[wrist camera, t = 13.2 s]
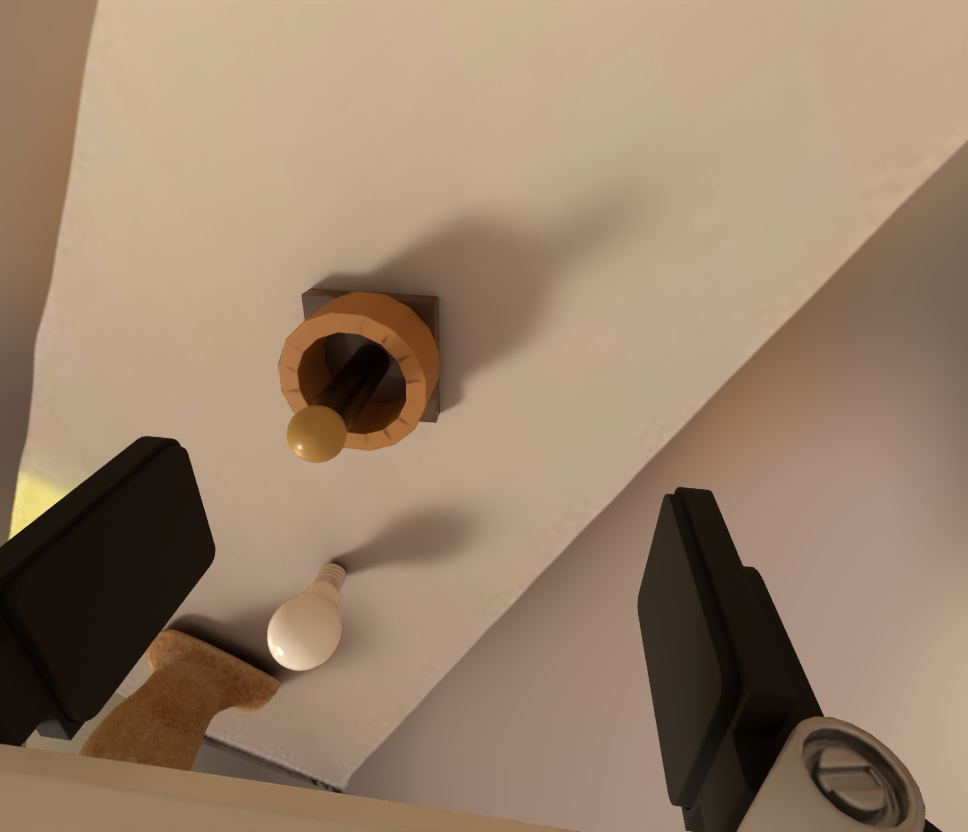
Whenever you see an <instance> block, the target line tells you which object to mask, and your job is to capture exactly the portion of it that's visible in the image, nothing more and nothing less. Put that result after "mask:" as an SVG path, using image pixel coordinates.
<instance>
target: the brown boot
mask: <svg viewBox="0 0 968 832" xmlns="http://www.w3.org/2000/svg"><path fill="white" fill-rule="evenodd" d="M147 660H148V663H149V665H150V667H151V668H152V670H153V674H152V675H151V676H150V678H149V679H148V680H147V681H146V682H145V683H144V684H143V686H142V687H140V688H139V689H138V690H137V691H136V692H135V693H133V694H132V695H131V696H129V697H128V698H127V699H126V700H124V701H123V702H122V703H120V704H119V705H118V706H117V707H116V708H115V709H113V710H112V711H111V712H110V713H109V714H108V715H107V716H106V717H105V718H104V719H103V720H102V722H101V723H100V724H99V725H98V726H97V728H96V729H95V730H94V731H93V733H92V734H91V735H90V736H89V737H88V739H87V740H86V741H85V742H84V744H83V745H82V747H81V748H80V749H79V751H78V753H77V755H81V756H88V757H95V758H102V759H109V760H116V761H123V762H130V763H137V764H144V765H151V766H158V767H165V768H172V769H178V770H185V771H190V769H191V767H192V765H193V762H194V760H195V757H196V755H197V752H198V750H199V747H200V745H201V742H202V739H203V737H204V734H205V732H206V729H207V727H208V725H209V723H210V721H211V719H212V718H213V717H214V715H216V714H217V713H218V712H220V711H223V710H230V711H233V712H235V713H238V714H245V713H252V712H256V711H257V710H259V709H261V708H262V707H263V706H264V705H265V704H266V703H268V702H269V701H270V699H271V698H272V697H273V696H274V695H275V694H276V692H277V690H278V688H279V686H280V684H281V682H280V681H279V680H277V679H276V678H274V677H272V676H270V675H269V674H267V673H265V672H263V671H261V670H259V669H257V668H256V667H254V666H252V665H251V664H249V663H247V662H245V661H243V660H241V659H239V658H237V657H235V656H233V655H231V654H229V653H227V652H225V651H223V650H221V649H218V648H216V647H214V646H212V645H210V644H208V643H206V642H204V641H202V640H199V639H197V638H195V637H192V636H190V635H187V634H185V633H183V632H180V631H177V630H172V629H165V630H162V631H161V632H160V633H159V634H158V635H157V637H156V638H155V639H154V641H153V642H152V643H151V645H150V646H149V647H148V649H147Z"/></svg>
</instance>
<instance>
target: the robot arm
mask: <svg viewBox="0 0 968 832" xmlns="http://www.w3.org/2000/svg"><path fill="white" fill-rule="evenodd" d="M214 556H215V544H214V541H213V537H212V534H211V531H210V527H209V524H208V520H207V517H206V513H205V510H204V507H203V503H202V500H201V496H200V493H199V489H198V486H197V483H196V479H195V476H194V472H193V469H192V465H191V462H190V459H189V455H188V452H187V450H186V449H185V448H183V447H181V445H180V443H179V442H178V441H177V440H175V439H172V438H161V437H151V436H144V437H141V438H139V439H137V440H136V441H135V442H134V443H132V444H131V445H130V446H128V447H127V448H126V449H125V450H123V451H122V452H121V453H120V454H118V455H117V456H116V457H114V458H113V459H112V460H111V461H109V462H108V463H107V464H106V465H104V466H103V467H102V468H100V469H99V470H98V471H97V472H95V473H94V474H93V475H92V476H90V477H89V478H88V479H86V480H85V481H84V482H83V483H81V484H80V485H79V486H78V487H76V488H75V489H74V490H72V491H71V492H70V493H69V494H67V495H66V496H65V497H64V498H62V499H61V500H60V501H58V502H57V503H56V504H55V505H53V506H52V507H51V508H50V509H48V510H47V511H46V512H45V513H43V514H42V515H41V516H39V517H38V518H37V519H36V520H34V521H33V522H32V523H31V524H29V525H28V526H27V527H25V528H24V529H23V530H22V531H20V532H19V533H18V534H17V535H15V536H14V537H13V538H11V539H10V540H9V541H8V542H6V543H5V544H4V545H3V546H1V547H0V832H578V831H572V830H566V829H560V828H555V827H549V826H543V825H538V824H532V823H526V822H520V821H515V820H508V819H501V818H495V817H488V816H482V815H476V814H469V813H462V812H456V811H450V810H443V809H436V808H430V807H423V806H418V805H410V804H405V803H398V802H392V801H385V800H378V799H372V798H366V797H359V796H353V795H346V794H340V793H333V792H325V791H319V790H312V789H306V788H299V787H292V786H286V785H279V784H273V783H266V782H259V781H253V780H245V779H239V778H232V777H225V776H219V775H212V774H205V773H198V772H192V771H185V770H178V769H172V768H165V767H158V766H151V765H144V764H137V763H130V762H123V761H116V760H109V759H102V758H95V757H88V756H81V755H74V754H67V753H60V752H53V751H46V750H39V749H32V748H26V740H27V739H28V737H29V736H30V735H31V734H32V733H33V731H34V730H35V729H36V730H37V731H38V733H39V734H40V736H44V737H51V738H57V739H65V740H72V738H73V737H74V735H75V734H76V733H77V732H78V730H79V729H80V728H81V726H82V725H83V724H84V722H85V721H88V720H91V719H92V718H93V717H95V716H96V715H97V714H98V713H99V712H100V710H101V709H102V708H103V707H104V705H105V704H106V703H107V701H108V700H109V699H110V697H111V696H112V695H113V693H114V692H115V691H116V690H117V688H118V687H119V686H120V684H121V683H122V682H123V680H124V679H125V678H126V676H127V675H128V674H129V672H130V671H131V670H132V668H133V667H134V666H135V664H136V663H137V662H138V660H139V659H140V658H141V657H142V655H143V654H144V653H145V651H146V650H147V649H148V647H149V646H150V645H151V643H152V642H153V641H154V639H155V638H156V637H157V635H158V634H159V633H160V631H161V630H162V629H163V627H164V626H165V625H166V623H167V622H168V621H169V620H170V618H171V617H172V616H173V614H174V613H175V612H176V610H177V609H178V608H179V606H180V605H181V604H182V602H183V601H184V600H185V598H186V597H187V596H188V594H189V593H190V592H191V590H192V589H193V588H194V587H195V585H196V584H197V583H198V581H199V580H200V579H201V577H202V576H203V575H204V573H205V572H206V571H207V569H208V568H209V567H210V565H211V564H212V562H213V559H214ZM638 616H639V622H640V628H641V634H642V640H643V646H644V652H645V658H646V664H647V670H648V676H649V682H650V688H651V694H652V699H653V706H654V712H655V718H656V723H657V730H658V736H659V742H660V748H661V754H662V759H663V766H664V772H665V778H666V784H667V790H668V795H669V799H670V802H671V803H672V805H674V806H681V807H682V812H683V817H684V822H685V828H686V831H691V832H942V831H940V830H939V829H938V828H936V827H935V826H934V825H933V824H931V823H930V822H929V821H928V820H926V819H925V805H924V802H923V799H922V795H921V792H920V790H919V787H918V785H917V784H916V782H915V781H914V779H913V777H912V775H911V774H910V772H909V771H908V769H907V768H906V766H905V765H904V764H903V763H902V762H901V761H900V760H899V759H898V757H897V756H896V755H895V754H894V753H893V752H892V751H891V750H890V749H889V748H888V747H887V746H885V745H884V744H883V743H882V742H880V741H879V740H878V739H876V738H875V737H874V736H873V735H871V734H870V733H868V732H866V731H864V730H862V729H861V728H859V727H857V726H855V725H853V724H851V723H848V722H845V721H842V720H839V719H836V718H833V717H824V715H823V713H822V711H821V708H820V706H819V704H818V702H817V700H816V697H815V695H814V693H813V691H812V689H811V686H810V684H809V682H808V679H807V677H806V675H805V673H804V670H803V668H802V666H801V664H800V662H799V659H798V657H797V655H796V652H795V650H794V648H793V646H792V644H791V641H790V639H789V637H788V635H787V632H786V630H785V628H784V626H783V623H782V621H781V619H780V617H779V614H778V612H777V610H776V608H775V605H774V603H773V601H772V599H771V596H770V594H769V592H768V590H767V587H766V585H765V583H764V581H763V579H762V577H761V575H760V574H759V572H758V571H757V570H756V569H755V568H754V567H746V566H743V565H742V563H741V560H740V558H739V555H738V553H737V551H736V548H735V546H734V543H733V541H732V539H731V536H730V534H729V532H728V529H727V526H726V524H725V522H724V519H723V517H722V514H721V512H720V510H719V507H718V505H717V503H716V500H715V498H714V495H713V494H712V492H711V491H710V490H704V489H694V488H684V487H678V488H677V489H676V490H675V493H674V494H666V495H665V496H664V499H663V502H662V506H661V509H660V513H659V517H658V521H657V525H656V529H655V533H654V537H653V540H652V544H651V549H650V552H649V556H648V560H647V564H646V568H645V572H644V575H643V579H642V583H641V587H640V591H639V595H638Z"/></svg>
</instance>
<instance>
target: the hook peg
mask: <svg viewBox="0 0 968 832" xmlns="http://www.w3.org/2000/svg"><path fill="white" fill-rule="evenodd" d="M388 369H389V359H388V356H387V355H386V353H385V352H384V351H383V350H382V349H380V348H379V347H377V346H373V345H365V346H362V347H360V348H359V349H358V350H357V351H356V352H355V354H354V355H353V356H352V357H351V358H350V359H349V360H348V362H347V363H346V364H345V365H344V366H343V367H342V369H341V370H340V371H339V372H338V373H337V374H336V376H335V377H334V378H333V379H332V380H331V381H330V383H329V384H328V385H327V386H326V387H325V388H324V389H323V391H322V392H321V393H320V394H319V395H318V396H317V398H316V399H315V400H314V401H313V402H312V403H311V405H310V406H309V407H306V408H303V409H302V410H300V411H298V412H297V413H296V414H295V415H294V416H293V417H292V419H291V420H290V422H289V425H288V428H287V441H288V444H289V446H290V448H291V450H292V451H293V452H294V454H296V455H297V456H298V457H299V458H301V459H303V460H305V461H308V462H313V463H321V462H325V461H328V460H330V459H332V458H334V457H335V456H337V455H338V454H339V453H340V451H341V450H342V449H343V447H344V445H345V442H346V438H347V432H348V430H349V429H350V427H351V426H352V424H353V423H354V421H355V420H356V418H357V417H358V415H359V414H360V412H361V411H362V409H363V408H364V406H365V405H366V403H367V402H368V400H369V399H370V397H371V396H372V394H373V393H374V391H375V390H376V388H377V387H378V385H379V384H380V382H381V381H382V379H383V378H384V376H385V375H386V373H387V372H388Z"/></svg>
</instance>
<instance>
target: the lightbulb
mask: <svg viewBox="0 0 968 832" xmlns="http://www.w3.org/2000/svg"><path fill="white" fill-rule="evenodd" d="M345 578H346V573H345V571H344V569H343V568H342V567H340V566H339V565H337V564H332V563H329V564H325V565H323V566H322V567H321V569H320V571H319V573H318V575H317V577H316V579H315V581H314V582H313V584H311V585H310V586H309V587H308V588H307V589H306V590H305V591H304V592H303V593H302V594H300V595H297V596H295V597H293V598H291V599H289V600H288V601H286V602H285V603H283V604H282V605H281V606H280V607H279V608H278V609H277V610H276V612H275V613H274V615H273V616H272V618H271V620H270V623H269V626H268V630H267V643H268V648H269V650H270V653H271V655H272V656H273V658H274V659H275V660H276V661H277V662H278V663H279V664H280V665H282V666H284V667H285V668H288V669H291V670H297V671H303V670H309V669H312V668H315V667H317V666H319V665H321V664H322V663H324V662H325V661H326V660H327V659H328V658H329V657H330V656H331V655H332V654H333V653H334V651H335V650H336V648H337V646H338V644H339V641H340V638H341V632H342V623H341V618H340V614H339V611H338V602H339V592H340V589H341V587H342V585H343V582H344V581H345Z"/></svg>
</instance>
